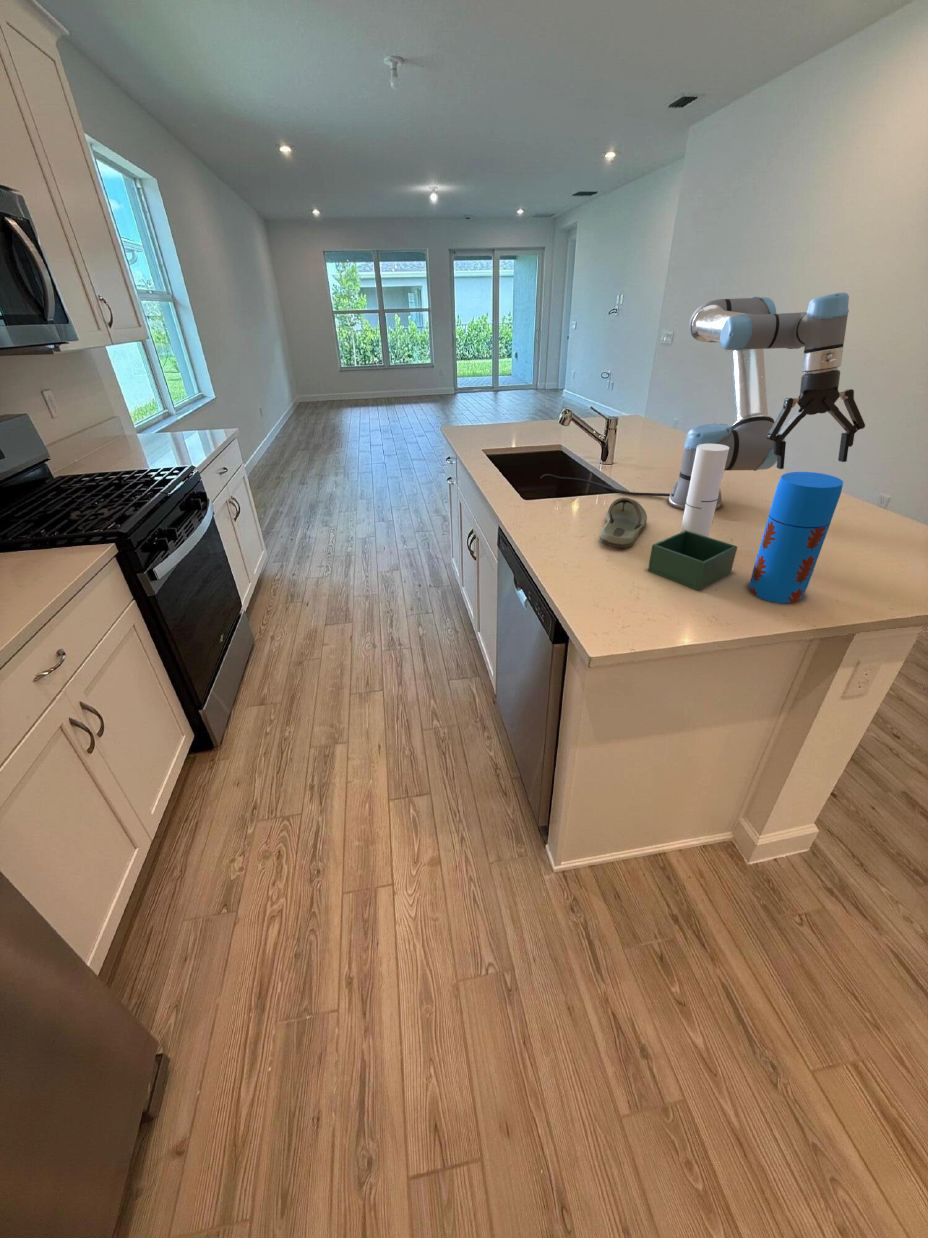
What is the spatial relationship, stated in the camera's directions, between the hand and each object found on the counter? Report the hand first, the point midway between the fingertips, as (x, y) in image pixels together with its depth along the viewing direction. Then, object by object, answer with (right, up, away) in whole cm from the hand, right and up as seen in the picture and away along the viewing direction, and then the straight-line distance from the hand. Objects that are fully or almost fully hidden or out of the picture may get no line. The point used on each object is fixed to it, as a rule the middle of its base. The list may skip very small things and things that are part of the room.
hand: (810, 464), depth 126 cm
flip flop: (-42, -13, +18) cm, 47 cm away
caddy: (-33, -27, -5) cm, 43 cm away
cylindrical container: (-25, -18, +9) cm, 33 cm away
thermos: (-18, -33, -14) cm, 40 cm away
